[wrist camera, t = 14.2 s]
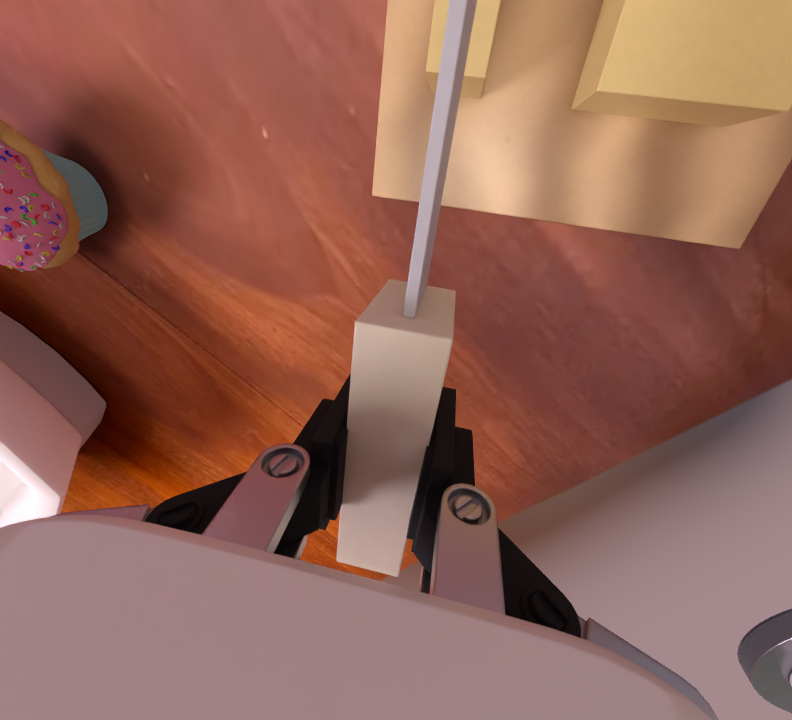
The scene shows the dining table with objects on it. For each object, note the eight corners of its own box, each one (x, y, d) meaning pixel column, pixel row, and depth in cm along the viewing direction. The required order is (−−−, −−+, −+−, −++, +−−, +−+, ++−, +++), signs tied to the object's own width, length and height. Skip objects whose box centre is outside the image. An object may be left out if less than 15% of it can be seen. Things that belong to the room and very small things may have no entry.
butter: (779, 11, 14) (872, -41, 11) (723, 127, 16) (789, 111, 13) (604, -4, 14) (643, -57, 11) (570, 109, 16) (596, 91, 13)
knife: (412, 486, 15) (397, 577, 11) (365, 475, 15) (336, 561, 12) (576, -256, 6) (741, -891, 2) (453, -259, 6) (443, -850, 3)
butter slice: (503, -13, 15) (514, -66, 12) (480, 99, 17) (485, 78, 14) (446, -18, 15) (443, -72, 12) (431, 93, 17) (425, 71, 14)
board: (936, -144, 12) (992, -184, 11) (720, 245, 19) (739, 249, 18) (409, -167, 14) (403, -203, 13) (377, 195, 21) (371, 195, 19)
